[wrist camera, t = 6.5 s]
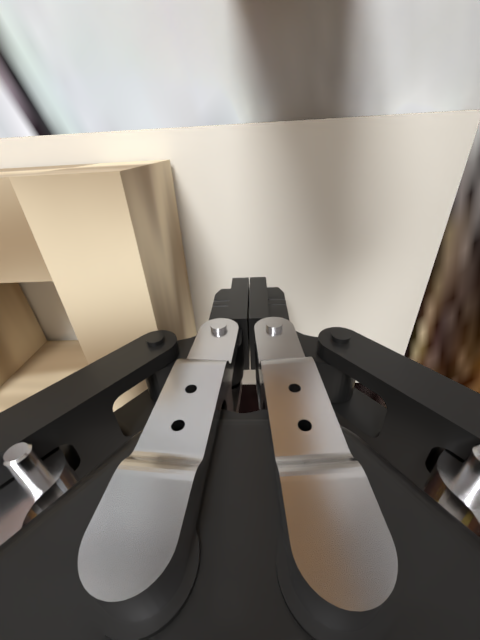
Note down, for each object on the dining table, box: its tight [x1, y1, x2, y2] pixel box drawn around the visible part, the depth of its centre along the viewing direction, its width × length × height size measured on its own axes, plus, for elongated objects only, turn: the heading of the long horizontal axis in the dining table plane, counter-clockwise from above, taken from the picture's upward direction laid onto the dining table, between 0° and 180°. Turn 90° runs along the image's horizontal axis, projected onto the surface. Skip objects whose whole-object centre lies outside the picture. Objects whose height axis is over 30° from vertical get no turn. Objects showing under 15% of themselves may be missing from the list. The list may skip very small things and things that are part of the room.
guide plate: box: [0, 109, 480, 384], centre depth 12 cm, size 13×24×8 cm, turn 93°
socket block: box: [0, 160, 197, 412], centre depth 12 cm, size 11×11×5 cm
